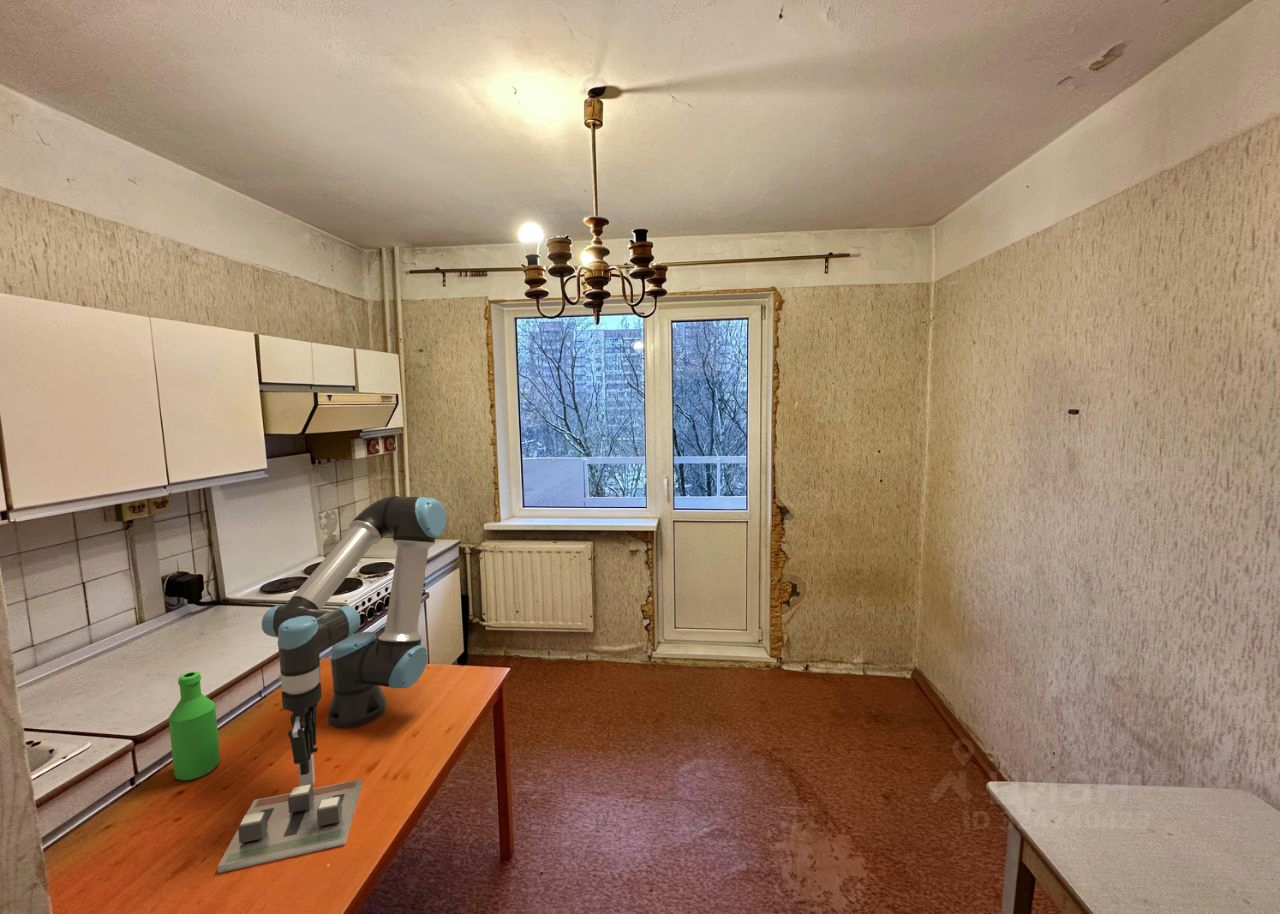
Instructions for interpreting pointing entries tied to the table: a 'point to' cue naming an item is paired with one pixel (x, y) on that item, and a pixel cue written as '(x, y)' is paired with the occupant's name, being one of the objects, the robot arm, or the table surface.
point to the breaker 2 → (300, 798)
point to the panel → (293, 828)
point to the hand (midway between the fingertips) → (307, 783)
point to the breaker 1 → (252, 827)
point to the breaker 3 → (329, 811)
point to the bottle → (193, 731)
